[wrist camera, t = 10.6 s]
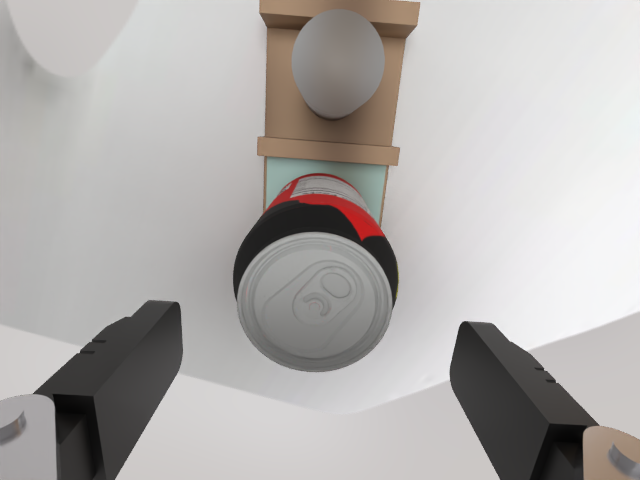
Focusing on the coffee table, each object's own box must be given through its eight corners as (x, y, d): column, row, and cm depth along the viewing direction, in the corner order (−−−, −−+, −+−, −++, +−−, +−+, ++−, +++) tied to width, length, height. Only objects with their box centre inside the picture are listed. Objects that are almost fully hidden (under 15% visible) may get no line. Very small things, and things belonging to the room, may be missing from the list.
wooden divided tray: (265, 273, 25) (233, 350, 16) (271, 16, 20) (230, -78, 11) (369, 280, 26) (395, 361, 17) (402, 26, 20) (465, -58, 11)
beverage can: (253, 221, 22) (180, 312, 11) (316, 149, 21) (306, 170, 10) (321, 279, 24) (320, 415, 12) (385, 216, 22) (451, 303, 11)
